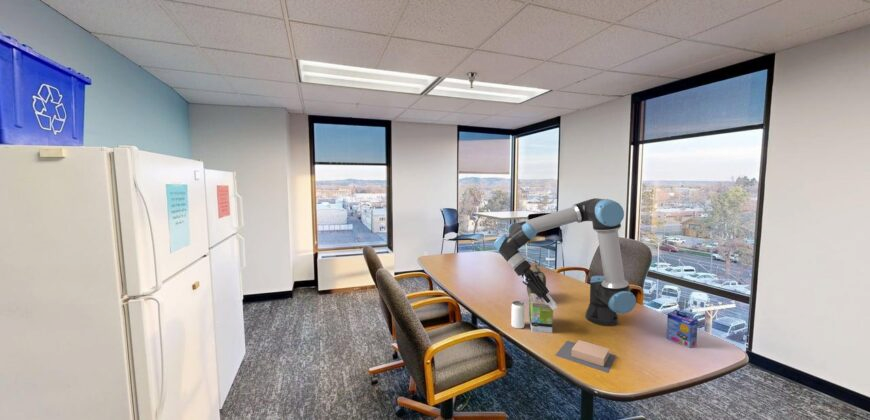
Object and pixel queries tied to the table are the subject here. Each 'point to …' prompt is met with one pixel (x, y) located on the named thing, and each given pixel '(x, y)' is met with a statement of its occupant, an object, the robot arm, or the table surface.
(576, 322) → the table surface
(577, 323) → the table surface
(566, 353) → the mat
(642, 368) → the table surface
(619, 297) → the robot arm
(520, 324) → the can
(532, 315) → the tea box
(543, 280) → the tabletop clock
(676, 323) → the ink cartridge box
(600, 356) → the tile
